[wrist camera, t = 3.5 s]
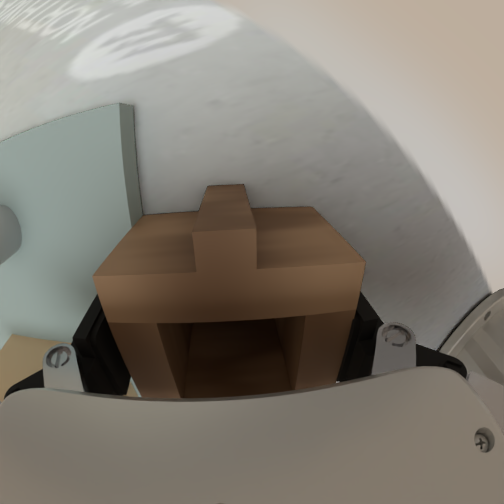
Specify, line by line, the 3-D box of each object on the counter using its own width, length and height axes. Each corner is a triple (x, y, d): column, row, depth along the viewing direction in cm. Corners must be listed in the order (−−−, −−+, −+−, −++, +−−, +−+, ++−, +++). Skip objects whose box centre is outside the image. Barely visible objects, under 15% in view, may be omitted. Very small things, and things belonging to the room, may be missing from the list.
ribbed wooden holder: (313, 183, 11) (371, 225, 6) (299, 348, 15) (321, 422, 10) (139, 191, 10) (82, 239, 6) (173, 355, 14) (161, 432, 10)
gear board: (133, 105, 9) (-10, 90, 2) (189, 406, 16) (185, 503, 10) (-59, 179, 8) (-131, 220, 1) (23, 381, 15) (-6, 444, 9)
